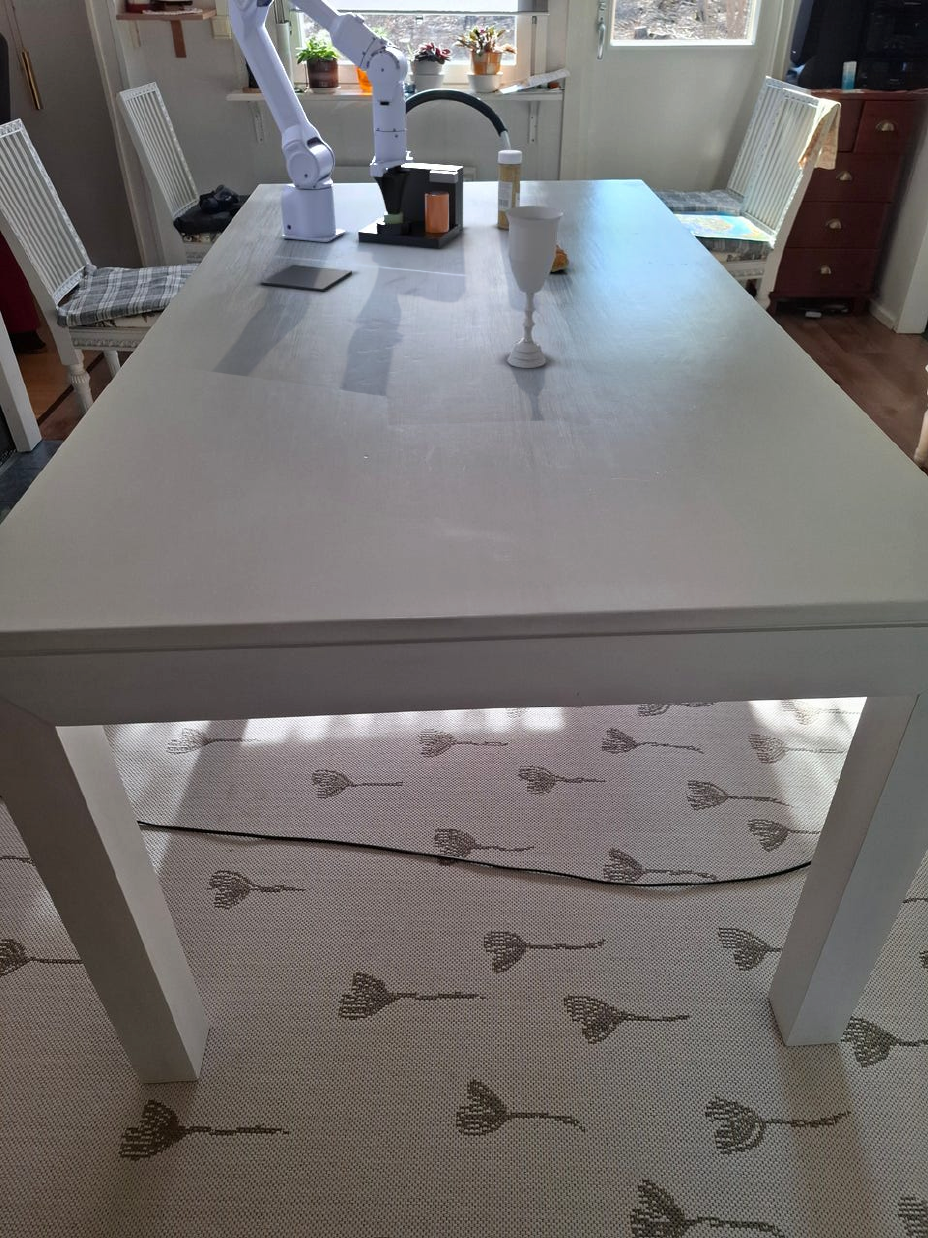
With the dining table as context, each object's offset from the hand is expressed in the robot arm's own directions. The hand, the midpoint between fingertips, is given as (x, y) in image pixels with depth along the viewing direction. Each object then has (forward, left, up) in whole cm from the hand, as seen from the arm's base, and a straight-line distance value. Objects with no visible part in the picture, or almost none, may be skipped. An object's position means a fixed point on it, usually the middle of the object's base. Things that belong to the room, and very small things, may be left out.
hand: (393, 212), depth 161 cm
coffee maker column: (+2, +11, -5) cm, 12 cm away
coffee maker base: (+2, +3, -5) cm, 6 cm away
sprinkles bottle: (+17, +18, -5) cm, 25 cm away
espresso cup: (+7, +3, -3) cm, 9 cm away
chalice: (+40, -52, -5) cm, 66 cm away
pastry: (+31, -7, -5) cm, 32 cm away
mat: (-4, -28, -5) cm, 29 cm away
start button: (0, 0, -2) cm, 2 cm away
